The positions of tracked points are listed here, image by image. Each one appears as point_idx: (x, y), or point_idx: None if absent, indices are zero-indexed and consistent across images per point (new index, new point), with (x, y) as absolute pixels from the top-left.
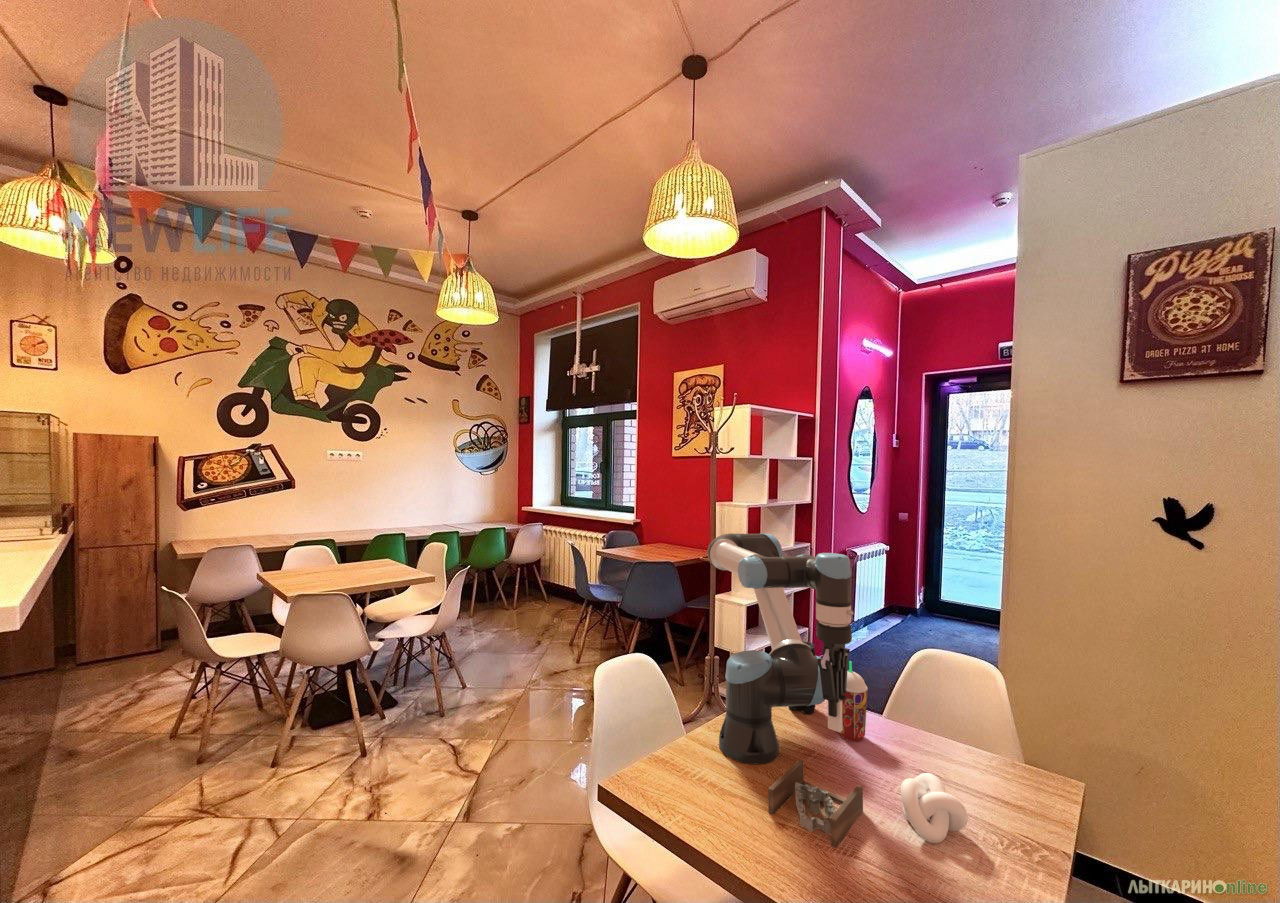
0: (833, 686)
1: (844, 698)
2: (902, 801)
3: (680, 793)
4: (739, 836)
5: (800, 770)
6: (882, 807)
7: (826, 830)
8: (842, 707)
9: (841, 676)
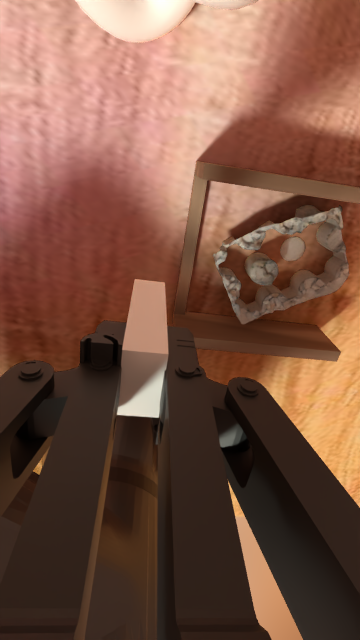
0: (305, 475)
1: (121, 344)
2: (252, 2)
3: (328, 456)
4: None
5: (194, 330)
6: (144, 113)
7: (328, 220)
8: None
9: (79, 505)
